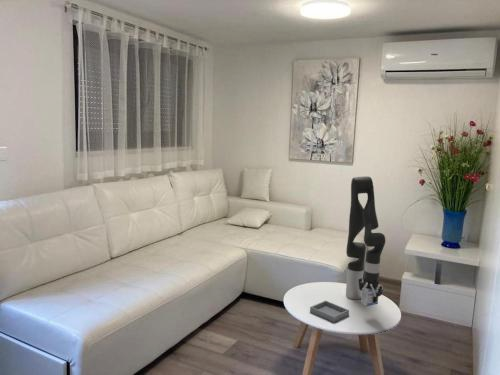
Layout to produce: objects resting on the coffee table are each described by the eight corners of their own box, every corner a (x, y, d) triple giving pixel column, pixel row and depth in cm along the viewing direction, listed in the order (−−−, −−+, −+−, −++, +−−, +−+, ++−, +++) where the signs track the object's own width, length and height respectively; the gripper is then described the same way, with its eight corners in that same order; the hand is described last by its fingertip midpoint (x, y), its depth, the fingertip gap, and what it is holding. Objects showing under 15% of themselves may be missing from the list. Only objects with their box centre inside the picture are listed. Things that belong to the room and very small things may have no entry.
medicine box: (366, 306, 209) (367, 291, 207) (360, 303, 213) (361, 287, 211) (377, 304, 212) (379, 288, 211) (372, 300, 216) (373, 285, 215)
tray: (325, 305, 227) (325, 300, 226) (348, 315, 216) (349, 310, 215) (309, 312, 218) (310, 306, 217) (333, 322, 206) (334, 317, 206)
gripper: (388, 272, 207) (385, 303, 210) (363, 264, 217) (361, 294, 220) (381, 275, 202) (378, 307, 204) (356, 267, 212) (353, 298, 215)
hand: (369, 300), depth 212 cm, fingers closed on medicine box, 5 cm apart
